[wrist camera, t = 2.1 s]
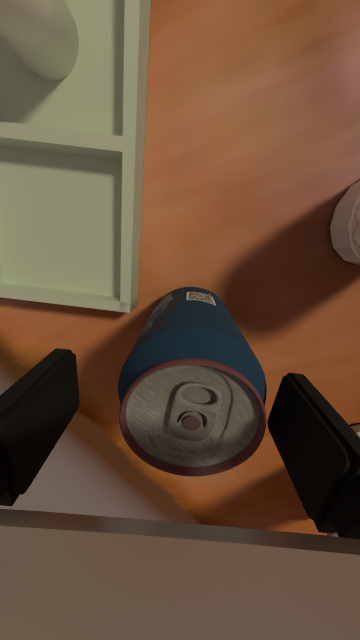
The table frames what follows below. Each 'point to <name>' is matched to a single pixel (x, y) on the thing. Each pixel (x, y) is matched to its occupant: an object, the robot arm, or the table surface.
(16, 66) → the caddy
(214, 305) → the soda can
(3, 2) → the shaker
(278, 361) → the table surface
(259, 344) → the table surface
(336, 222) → the white cup
